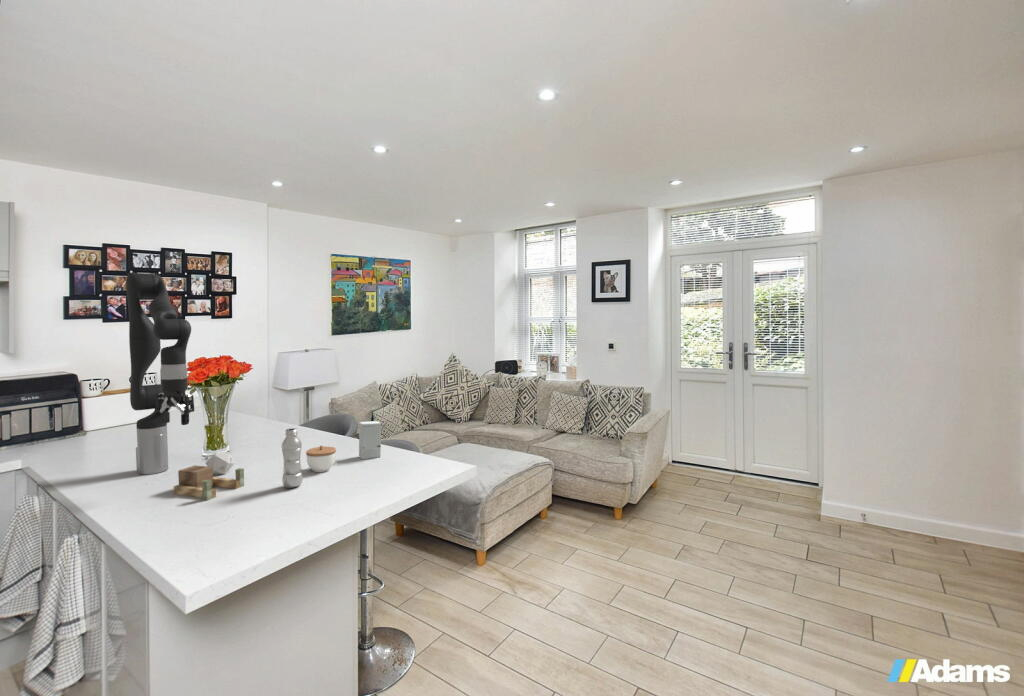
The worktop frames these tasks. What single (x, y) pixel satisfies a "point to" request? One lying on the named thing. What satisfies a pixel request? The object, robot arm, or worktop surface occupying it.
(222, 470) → the die
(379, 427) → the skincare box
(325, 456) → the lidded jar
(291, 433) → the plastic bottle
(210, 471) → the block
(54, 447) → the worktop surface
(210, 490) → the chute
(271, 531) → the worktop surface
